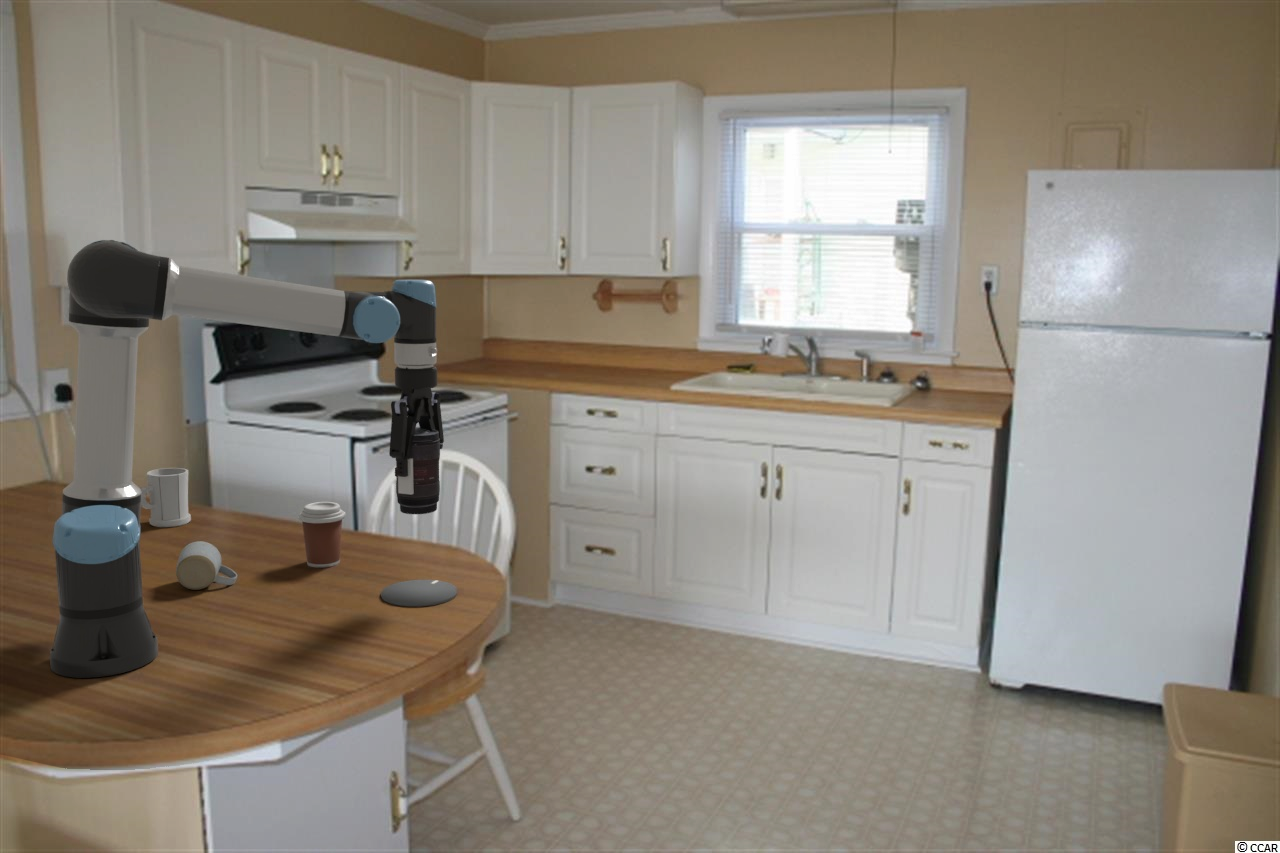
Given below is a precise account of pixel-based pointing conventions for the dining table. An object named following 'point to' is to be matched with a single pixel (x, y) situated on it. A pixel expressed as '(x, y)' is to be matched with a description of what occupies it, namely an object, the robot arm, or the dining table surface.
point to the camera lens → (422, 474)
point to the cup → (167, 497)
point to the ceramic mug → (202, 567)
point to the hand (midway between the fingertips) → (418, 488)
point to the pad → (419, 593)
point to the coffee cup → (322, 533)
